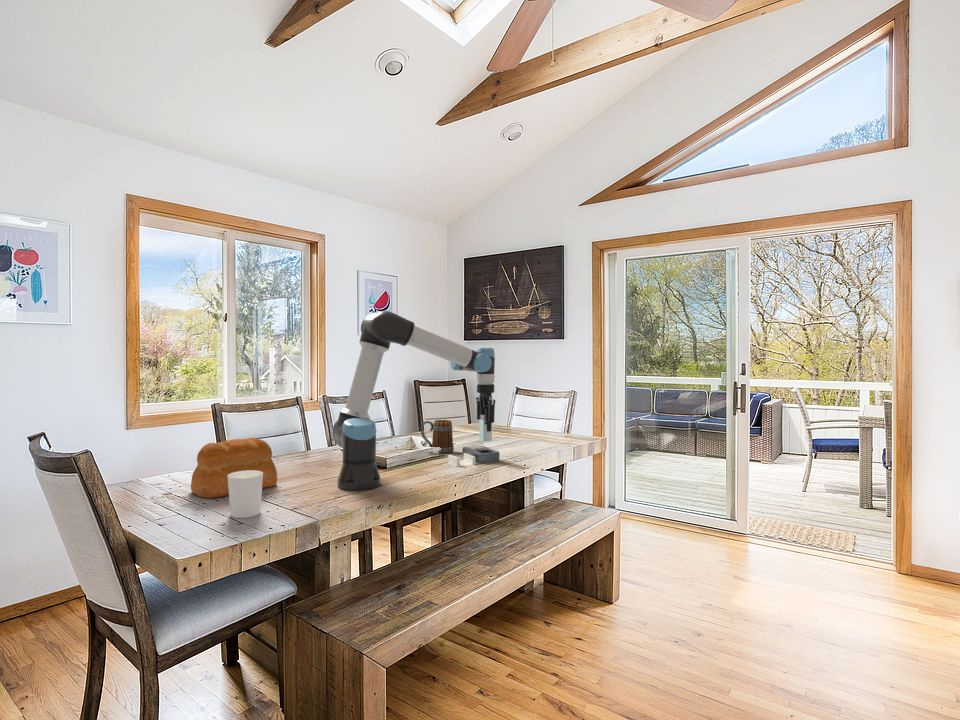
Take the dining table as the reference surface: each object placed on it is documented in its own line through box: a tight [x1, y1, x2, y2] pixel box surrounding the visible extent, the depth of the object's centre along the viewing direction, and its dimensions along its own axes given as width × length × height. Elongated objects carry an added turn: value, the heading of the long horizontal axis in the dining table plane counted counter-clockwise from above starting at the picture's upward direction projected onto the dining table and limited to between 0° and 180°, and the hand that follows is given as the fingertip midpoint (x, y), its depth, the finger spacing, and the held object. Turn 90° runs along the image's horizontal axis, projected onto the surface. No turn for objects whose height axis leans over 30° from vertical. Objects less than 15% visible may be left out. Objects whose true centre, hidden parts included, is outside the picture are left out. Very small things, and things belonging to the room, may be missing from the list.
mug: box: [420, 419, 455, 456], centre depth 255 cm, size 16×11×15 cm
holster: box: [447, 453, 476, 467], centre depth 229 cm, size 9×9×4 cm
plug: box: [478, 415, 493, 442], centre depth 234 cm, size 4×4×11 cm
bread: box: [190, 437, 278, 499], centre depth 189 cm, size 16×26×17 cm, turn 139°
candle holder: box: [227, 470, 263, 519], centre depth 162 cm, size 10×10×12 cm
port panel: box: [461, 445, 500, 465], centre depth 238 cm, size 10×16×5 cm, turn 27°
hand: (485, 437), depth 234 cm, fingers closed on plug, 4 cm apart
